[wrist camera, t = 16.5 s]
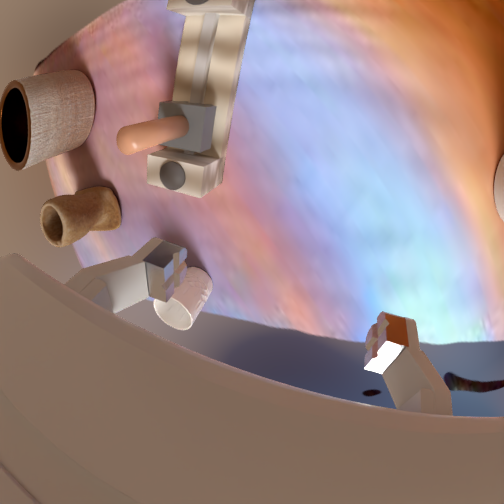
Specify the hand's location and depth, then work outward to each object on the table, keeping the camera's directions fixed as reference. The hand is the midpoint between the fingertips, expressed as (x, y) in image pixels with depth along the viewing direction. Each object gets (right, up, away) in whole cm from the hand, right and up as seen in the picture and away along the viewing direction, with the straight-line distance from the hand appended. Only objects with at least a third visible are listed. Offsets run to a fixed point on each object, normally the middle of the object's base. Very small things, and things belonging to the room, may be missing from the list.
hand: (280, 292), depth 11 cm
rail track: (-7, +26, +23) cm, 35 cm away
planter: (-38, +31, +32) cm, 59 cm away
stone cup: (-34, +12, +42) cm, 55 cm away
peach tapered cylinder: (-9, +20, +25) cm, 33 cm away
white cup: (-12, -4, +43) cm, 45 cm away
